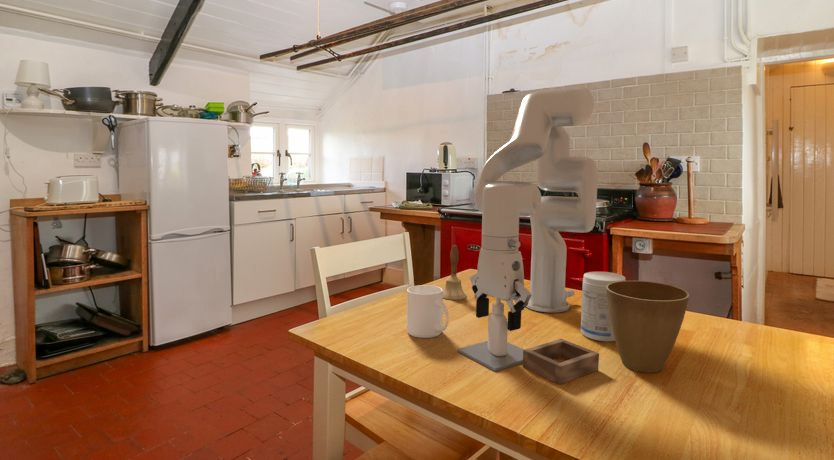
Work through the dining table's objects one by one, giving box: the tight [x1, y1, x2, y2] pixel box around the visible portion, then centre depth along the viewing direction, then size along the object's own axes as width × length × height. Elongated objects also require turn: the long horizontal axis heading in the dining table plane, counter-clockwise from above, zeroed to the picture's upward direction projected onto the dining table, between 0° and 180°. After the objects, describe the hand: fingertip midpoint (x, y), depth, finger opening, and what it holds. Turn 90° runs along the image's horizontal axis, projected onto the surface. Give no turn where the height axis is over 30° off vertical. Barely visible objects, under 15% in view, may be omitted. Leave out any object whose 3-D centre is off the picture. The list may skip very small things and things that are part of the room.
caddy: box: [522, 338, 600, 385], centre depth 95 cm, size 11×9×4 cm
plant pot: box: [606, 280, 690, 373], centre depth 96 cm, size 15×15×16 cm
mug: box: [406, 284, 449, 339], centre depth 113 cm, size 9×12×11 cm
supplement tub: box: [580, 271, 627, 343], centre depth 113 cm, size 10×10×15 cm
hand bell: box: [443, 244, 467, 301], centre depth 146 cm, size 8×8×16 cm
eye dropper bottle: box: [487, 298, 509, 356], centre depth 101 cm, size 4×6×12 cm
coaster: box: [456, 340, 525, 372], centre depth 102 cm, size 12×12×1 cm
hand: (497, 322), depth 101 cm, fingers open, 9 cm apart
